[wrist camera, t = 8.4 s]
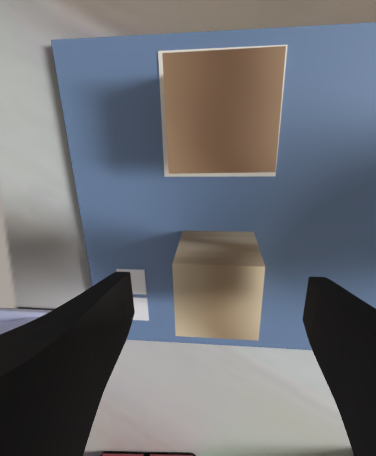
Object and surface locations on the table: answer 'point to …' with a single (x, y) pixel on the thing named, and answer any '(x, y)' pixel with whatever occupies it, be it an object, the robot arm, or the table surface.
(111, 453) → the puzzle cube
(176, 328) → the maple block
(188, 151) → the walnut block
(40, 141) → the table surface
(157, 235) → the blueprint board
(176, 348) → the table surface
